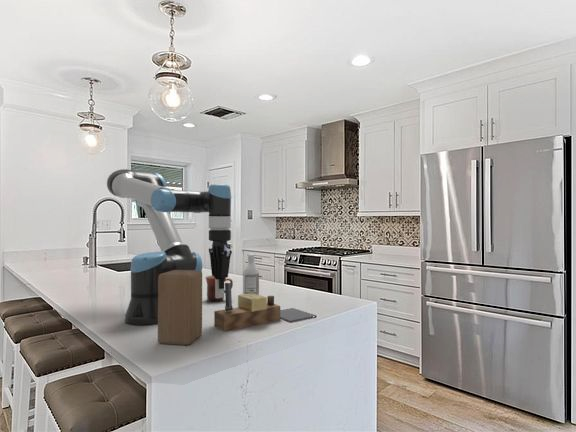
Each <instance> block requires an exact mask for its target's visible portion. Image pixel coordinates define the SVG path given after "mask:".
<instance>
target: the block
mask: <svg viewBox="0 0 576 432" xmlns="http://www.w3.org/2000/svg"><path fill="white" fill-rule="evenodd" d="M202 334H203V271H202V272H201V271H199V270H172V271H169V272H165V273H162V274H159V276H158V323H157V343H159V344H164V345H165V344H167V345H178V346H179V345H180V346H181V345H182V346H189V345H191V344H192V343H193V342H195V341H196V340H197V339H198V338H200V337H201V336H202Z"/></svg>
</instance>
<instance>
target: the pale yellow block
mask: <svg viewBox="0 0 576 432" xmlns="http://www.w3.org/2000/svg"><path fill="white" fill-rule="evenodd" d="M237 307H240V308H243V309H246V310H248V311H251V312H253V311H259V310H265V309H267V296H263V295H260V294H259V295H257V294H254V293H250V294H243V293H242V294H238V295H237Z"/></svg>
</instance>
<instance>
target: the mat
mask: <svg viewBox="0 0 576 432" xmlns="http://www.w3.org/2000/svg"><path fill="white" fill-rule="evenodd" d="M313 316H316V317H317V315H316V314H313V313H310V312H307V311H304V310H301V309H297V308H295V307H291V308H290V307H289V308H286V309H280V320H282V321H285V322H288V323H294V321H295V322H299V321H298V320H300V321H303V320H302V319H305V320H307V319H306V318H309V319H311V318H310V317H313Z"/></svg>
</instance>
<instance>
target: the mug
mask: <svg viewBox="0 0 576 432" xmlns="http://www.w3.org/2000/svg"><path fill="white" fill-rule="evenodd" d="M205 280H206V298H207V301H209V302H214V303H215V302H221V301H223V300H224V299H225V297H224V298H215V278H214V276H212V275H207V276H205ZM227 281H229V283H231V290H232V288H233V285H234V282H233V279H232V278H229V277H227V278H225V279H224V283H226V282H227ZM224 294H225V289H224Z"/></svg>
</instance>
